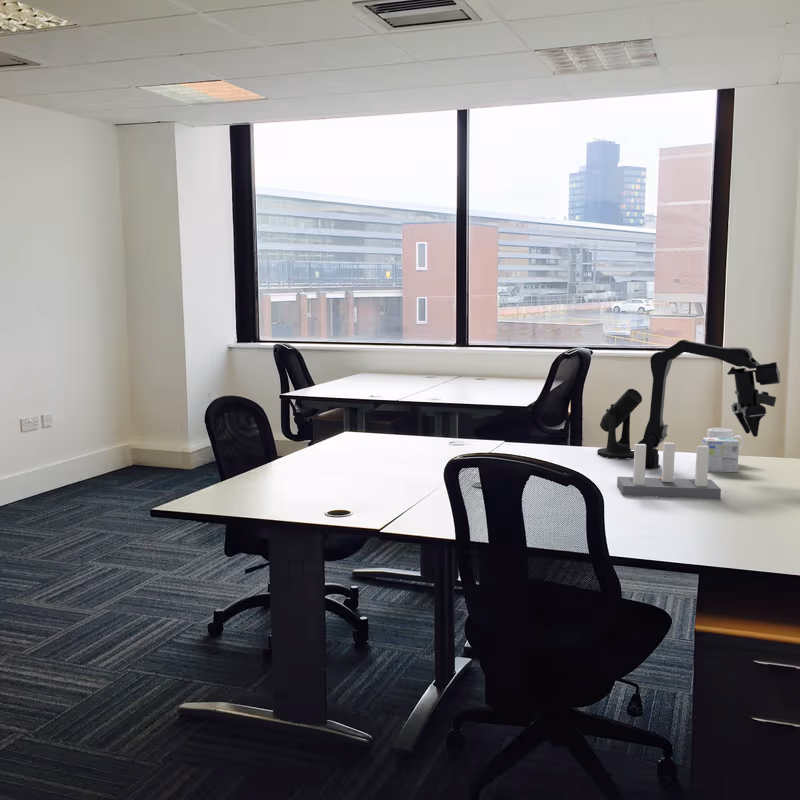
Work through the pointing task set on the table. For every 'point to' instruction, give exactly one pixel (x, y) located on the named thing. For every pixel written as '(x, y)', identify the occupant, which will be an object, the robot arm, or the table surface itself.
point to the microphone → (613, 420)
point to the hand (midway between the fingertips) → (751, 434)
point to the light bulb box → (722, 454)
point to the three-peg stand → (677, 488)
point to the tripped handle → (668, 462)
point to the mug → (722, 434)
